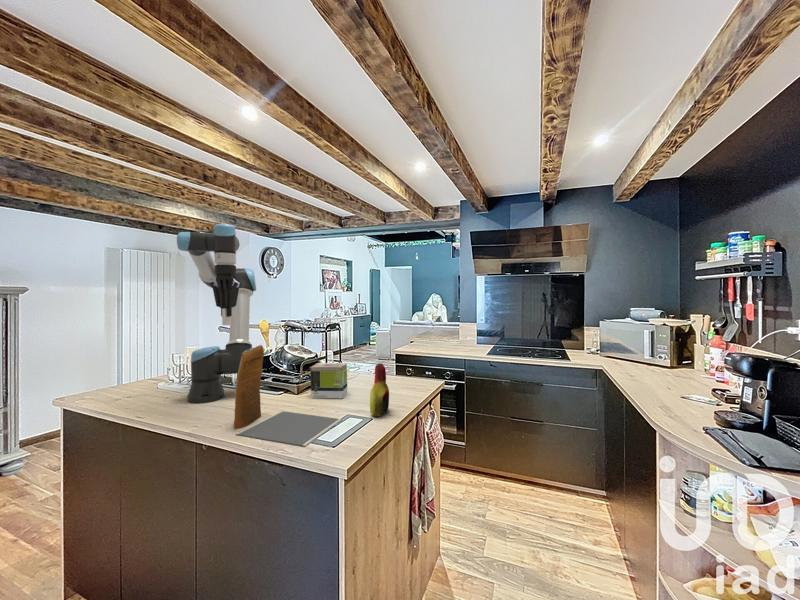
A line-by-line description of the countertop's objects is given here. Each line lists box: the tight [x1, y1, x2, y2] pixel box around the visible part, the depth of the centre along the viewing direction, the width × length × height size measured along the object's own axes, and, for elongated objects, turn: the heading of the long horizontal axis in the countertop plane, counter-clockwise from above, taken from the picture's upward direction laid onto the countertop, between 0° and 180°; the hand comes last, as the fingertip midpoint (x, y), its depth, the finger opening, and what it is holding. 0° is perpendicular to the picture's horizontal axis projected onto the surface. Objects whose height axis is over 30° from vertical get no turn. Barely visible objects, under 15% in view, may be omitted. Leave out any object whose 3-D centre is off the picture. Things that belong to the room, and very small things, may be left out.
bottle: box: [369, 362, 390, 417], centre depth 141 cm, size 12×6×20 cm, turn 156°
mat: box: [235, 410, 343, 448], centre depth 127 cm, size 28×24×1 cm
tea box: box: [310, 362, 348, 399], centre depth 165 cm, size 15×10×15 cm, turn 84°
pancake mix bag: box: [233, 344, 265, 430], centre depth 133 cm, size 7×19×28 cm, turn 172°
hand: (226, 324), depth 137 cm, fingers closed
